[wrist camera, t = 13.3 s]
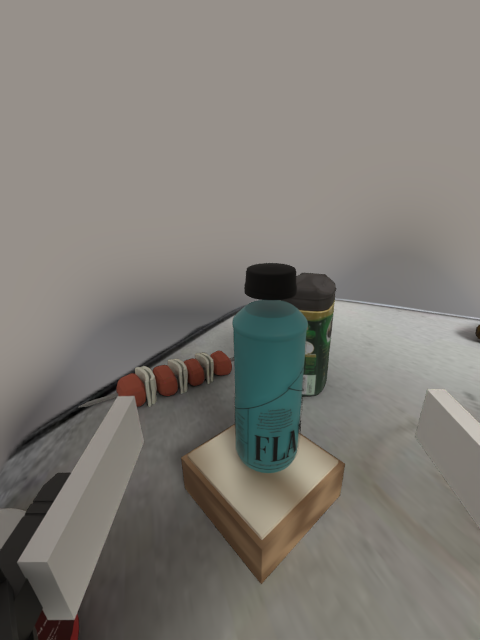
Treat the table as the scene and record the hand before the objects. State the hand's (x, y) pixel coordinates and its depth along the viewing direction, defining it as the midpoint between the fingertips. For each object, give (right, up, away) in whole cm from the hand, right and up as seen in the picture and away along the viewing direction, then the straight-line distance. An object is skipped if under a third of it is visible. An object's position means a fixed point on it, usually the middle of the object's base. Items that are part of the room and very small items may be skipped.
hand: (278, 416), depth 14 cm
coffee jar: (+9, -6, +38) cm, 40 cm away
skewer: (-12, -7, +38) cm, 40 cm away
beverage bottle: (+1, -10, +17) cm, 20 cm away
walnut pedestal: (+1, -14, +19) cm, 24 cm away
